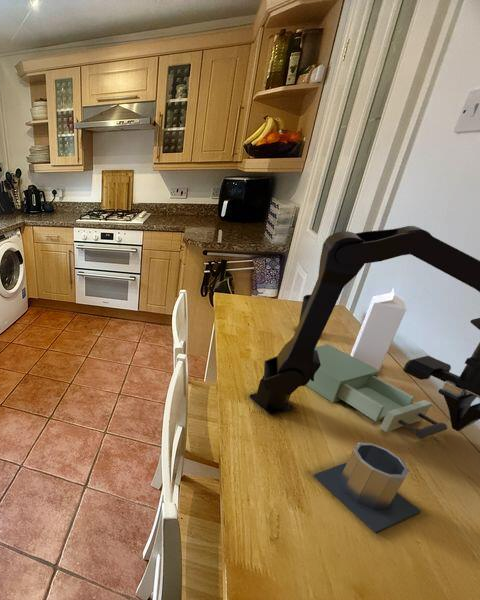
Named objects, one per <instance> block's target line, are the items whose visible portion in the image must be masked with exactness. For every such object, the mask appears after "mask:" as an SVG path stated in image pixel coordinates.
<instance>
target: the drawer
mask: <svg viewBox="0 0 480 600" xmlns="http://www.w3.org/2000/svg"><path fill="white" fill-rule="evenodd" d="M337 397H339V398H340V399H342V400H341V401H343V402H344V403H346V404H348V405H349V406H351V407H353V408H354V409H356V410H357V411H359V412H361V414H363V415H365V416H367V417H368V418H370V419H372V421H374V422H378V421H382V422H381V424H380V426H379V429H381V430H382V431H383V432H385V433H387V432H390V431H393V430H396V429H399V428H402V427H405V428H406V429H408V430H409V431H411V432H413V433H414V435H415V437H417V438H418V439H425V438H427V437H430V436H432V435H436V434H439V433H441V432H443V431H446V430H448V425H447V424H446V423H445V422H441V421H440V422H437V421H436V420H434V419H432V418H430V417H429V416H427V414H428V412H429V410H430V408H431V406H432V404H433V403H432V402H430V401H428V400H426V399H423V400H420V401H417V402H414V403H413V401H414V399H415V396H413V395H412V394H410V393H408V392H405V391H404V390H402V389H400V388H398V387H396V386H394V385H392V384H391V383H389V382H387V381H386V380H383V379H381V378H379V376H378V377H376V376H374V375H372V376H369V377H365V378H361V379H358V380H354V381H350V382H346V383H343V384H342V386H341V388H340V391H339V393H338V396H337ZM423 420H424V421H426V422H428V423H430V424H431V425H429V426H425V427H423V428H420V429H417V428H416V427H414V426H412V425H411V424H414V423H416V422H419V421H423Z"/></svg>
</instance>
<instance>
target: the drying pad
mask: <svg viewBox="0 0 480 600" xmlns="http://www.w3.org/2000/svg"><path fill="white" fill-rule="evenodd" d="M346 464H347V462H344V463H341V464H338V465H336V466H333V467H330V468H327V469H324V470H322V471H319V472H317V473H314V474H313V477H314V478H315V479H316V480H317V481H318V482H319V483H320V484H321V485H323V486H324V488H326V489H327V490H328V491H329V492H330V493H331V494H332V495H333V496H335V497H336V499H338V500H339V501H340V502H341V503H342V504H343V505H344V506H345V507H347V509H349V510H350V511H351V512H352V513H353V514H354V515H355V516H356V517H357V518H358V519H359V520H361V522H363V523H364V524H365V525H366V527H368V528H369V529H370V530H371V531H373V532H374V534H377V533H379V532H382V531H384V530H386V529H388V528H390V527H393V526H396V525H397V524H399V523H401V522H404V521H405V520H407V519H410V518H412V517H414V516H416V515H419V514H421V510H420V509H419V508H418V507H416V506H415V505H414V504H412V503H411V502H410V501H408V500H407V499H406V498H405V497H404V496H402V494H400V493H399V492H397V493H396V495H395V496H394V498H393V500H392V502H391V503H390V505H389V507H388V509H386V510H374V509H371V508H369V507H367V506H365V505H363V504H360V503H358V502H357V501H355V500H354V499H353V498H352V497H351V496H350V495H349V494H347V493H346V492H345V491H344V489H343V487H342V485H341V483H340V480H339V479H340V477H341V475H342V473H343V470H344V468H345V466H346Z"/></svg>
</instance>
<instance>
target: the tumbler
mask: <svg viewBox="0 0 480 600" xmlns="http://www.w3.org/2000/svg"><path fill="white" fill-rule="evenodd" d="M346 463H347V464H346V466H345V468H344V470H343V473H342V475H341V477H340V479H339V480H340V483H341V485H342V487H343V489H344V491H345V492H346V493H347V494H349V495H350V496H351V497H352V498H353V499H354V500H355V501H357V502H358V503H360V504H363V505H365V506H367V507H369V508H371V509H374V510H386V509H388V507H389V505H390V503H391V502H392V500H393V498H394V496H395V495H396V493H398V491H399V490H400V488H401V486H402V485H403V483H404V481H405V479H406V477H407V476H408V474H409V472H410V469H409V467H408V466H407V464H406V463H405V461H404V460H403V459H402V458H401V457H399V456H398V455H397V454H395V453H394V452H392V451H391V450H389V449H388V448H386V447H383V446H380V445H377V444H375V443H373V442H357V443H356V445H355V446H354V447H353V449H352V451H351V453H350V455H349V457H348V459H347V462H346Z"/></svg>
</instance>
